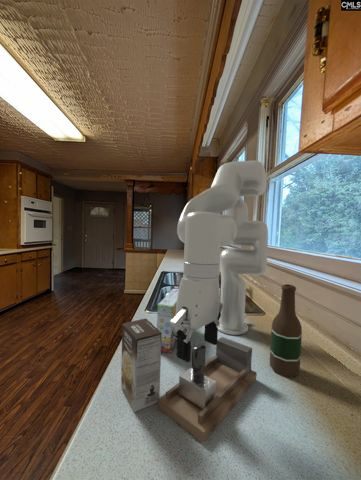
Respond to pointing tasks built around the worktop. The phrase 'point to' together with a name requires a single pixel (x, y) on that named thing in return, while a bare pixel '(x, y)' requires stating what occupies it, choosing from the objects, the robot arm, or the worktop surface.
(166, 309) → the snack box
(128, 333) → the coffee box
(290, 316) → the beer bottle
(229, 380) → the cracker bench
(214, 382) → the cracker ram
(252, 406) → the worktop surface
